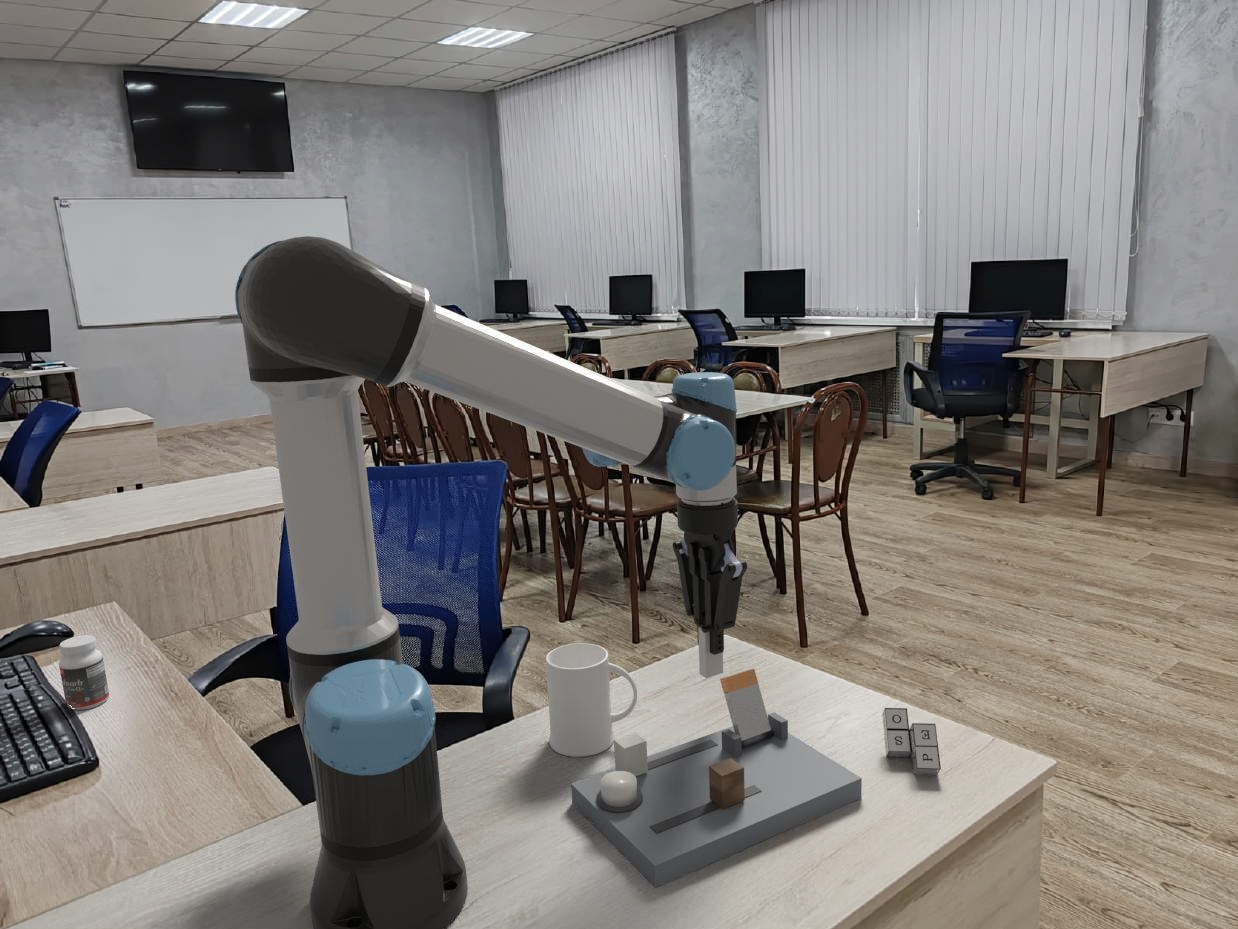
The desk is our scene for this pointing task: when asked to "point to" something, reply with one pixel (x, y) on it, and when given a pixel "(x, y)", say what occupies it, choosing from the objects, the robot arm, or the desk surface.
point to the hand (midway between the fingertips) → (711, 673)
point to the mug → (582, 699)
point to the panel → (696, 826)
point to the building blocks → (911, 741)
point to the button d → (619, 788)
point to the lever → (746, 707)
